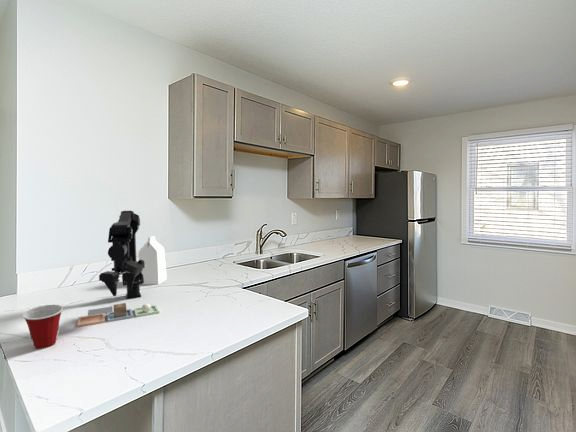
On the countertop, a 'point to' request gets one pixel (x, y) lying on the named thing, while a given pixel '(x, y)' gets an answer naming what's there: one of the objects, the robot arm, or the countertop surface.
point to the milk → (153, 262)
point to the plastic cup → (43, 324)
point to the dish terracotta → (91, 320)
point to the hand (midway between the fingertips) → (122, 292)
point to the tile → (100, 311)
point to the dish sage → (140, 312)
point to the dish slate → (111, 317)
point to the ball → (146, 307)
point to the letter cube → (119, 310)
